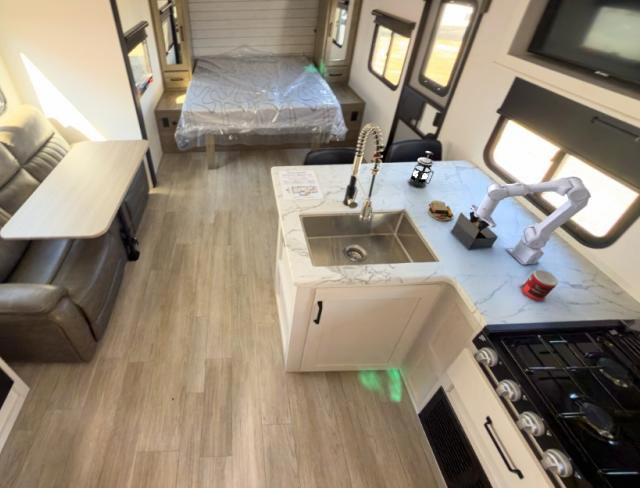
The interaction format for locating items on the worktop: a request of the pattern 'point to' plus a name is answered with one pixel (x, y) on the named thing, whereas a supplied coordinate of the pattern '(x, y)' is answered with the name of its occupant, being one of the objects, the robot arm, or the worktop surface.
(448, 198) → the worktop surface
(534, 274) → the canned food
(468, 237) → the grey hinged lid box
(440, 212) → the toy sandwich meal
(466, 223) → the filter lid
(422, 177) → the french press
